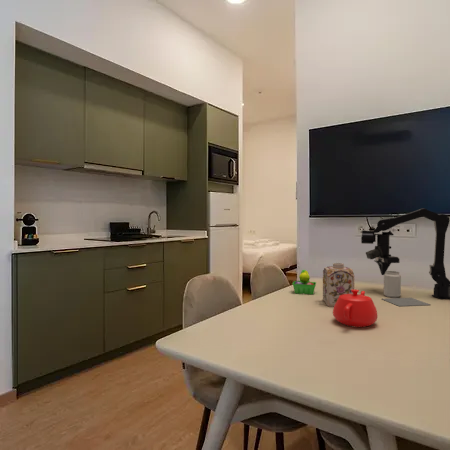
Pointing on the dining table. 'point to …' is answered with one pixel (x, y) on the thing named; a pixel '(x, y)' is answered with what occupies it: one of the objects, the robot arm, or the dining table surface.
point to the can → (392, 284)
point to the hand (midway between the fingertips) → (382, 274)
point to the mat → (405, 302)
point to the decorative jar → (337, 282)
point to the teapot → (355, 309)
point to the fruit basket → (304, 284)
